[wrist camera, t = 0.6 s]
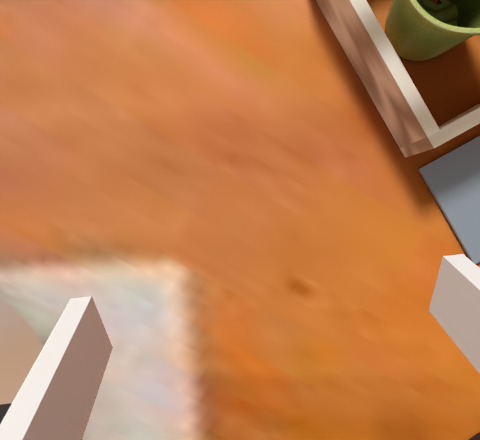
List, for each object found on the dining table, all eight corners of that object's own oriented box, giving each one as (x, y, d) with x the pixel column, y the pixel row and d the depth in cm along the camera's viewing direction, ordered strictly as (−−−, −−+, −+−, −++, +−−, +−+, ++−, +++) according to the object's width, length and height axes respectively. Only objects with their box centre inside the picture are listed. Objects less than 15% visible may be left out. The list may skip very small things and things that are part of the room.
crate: (543, 80, 28) (608, 51, 23) (404, 157, 30) (434, 148, 24) (435, -111, 28) (474, -185, 23) (302, -23, 30) (308, -72, 24)
